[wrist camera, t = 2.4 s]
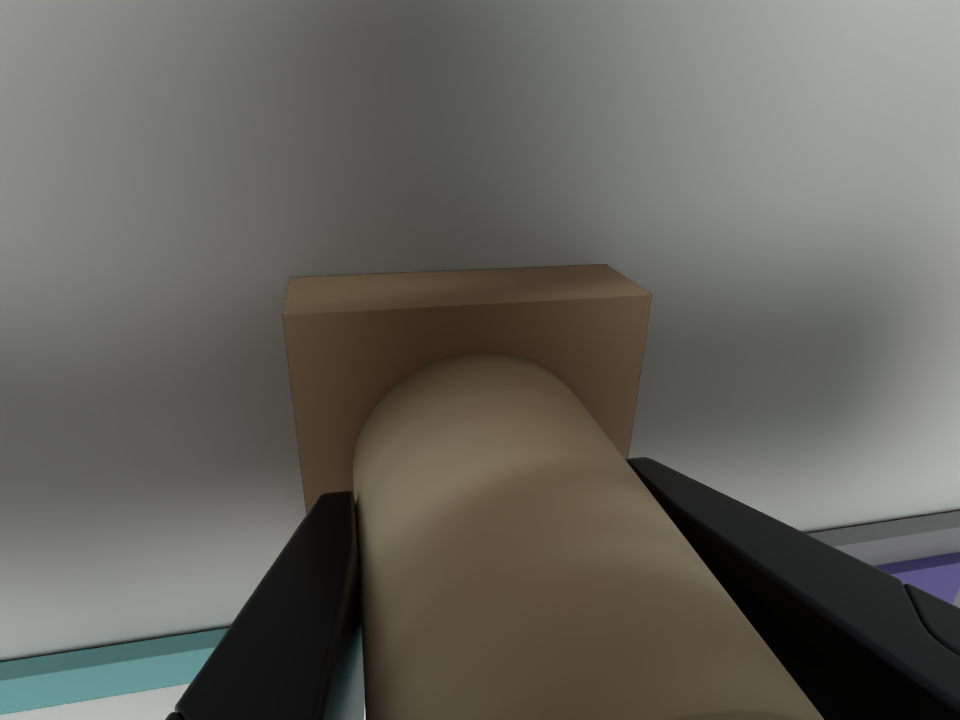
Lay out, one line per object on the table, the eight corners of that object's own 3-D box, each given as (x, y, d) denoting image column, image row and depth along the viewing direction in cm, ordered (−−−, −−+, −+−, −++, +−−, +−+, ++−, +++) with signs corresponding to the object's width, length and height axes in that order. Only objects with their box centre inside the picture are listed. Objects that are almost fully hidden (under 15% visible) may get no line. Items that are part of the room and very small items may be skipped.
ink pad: (980, 507, 15) (1012, 528, 14) (863, 766, 19) (884, 793, 18) (595, 565, 13) (610, 593, 12) (559, 841, 17) (569, 874, 16)
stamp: (605, 264, 10) (1052, 568, 4) (579, 509, 12) (838, 963, 6) (290, 277, 9) (199, 722, 3) (319, 542, 11) (305, 1133, 5)
